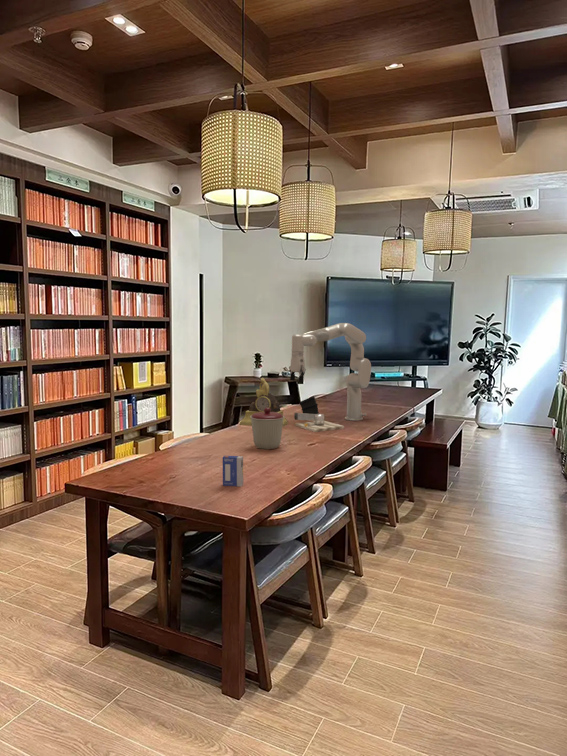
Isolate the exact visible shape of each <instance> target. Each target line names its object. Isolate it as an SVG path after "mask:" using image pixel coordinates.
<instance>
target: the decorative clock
mask: <svg viewBox="0 0 567 756" xmlns="http://www.w3.org/2000/svg"><path fill="white" fill-rule="evenodd" d="M255 392H256V393H255V394H256V397H257V398H256V399H255V401H253V402H251V403H250V405H249V409H248V410H246V411H245V413H244V414H245V415H244V418H243V419H242V420H240V421H239V426H250V427H252V421H251V418H250V416H251V415H253V414H254V413H258V412H264V409H265V408H270V409H271V411H270V412H277V413H280V414H282V415H283V416H285V415H284V410H281V407H280V402H279V401H278V400H277V398H276V397H275V396H274V395H273V393H271V392H270V385H269V383H268V382H267V381H266V379H265V378H264V377H261V378H260V383H259V389H256V390H255ZM288 421H289V420H287V419H286V418H285V417H284V419H283V426H282V428H284V427H285V426H287V425H288V423H289V422H288Z"/></svg>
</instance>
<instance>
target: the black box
mask: <svg viewBox="0 0 567 756" xmlns="http://www.w3.org/2000/svg"><path fill="white" fill-rule="evenodd" d="M299 406H300V407H301V413H307V414H320V412H319V407H318V406H319V404H318V403H317V400H316V396H314V395H312V396H311V397H308V398H305V399H303V400H301V401H299Z"/></svg>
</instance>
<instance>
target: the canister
mask: <svg viewBox="0 0 567 756" xmlns="http://www.w3.org/2000/svg"><path fill="white" fill-rule="evenodd" d="M270 411H271V409H270V408H265V409H264V412H258V413H254V414H253V415H251V416H250V418H251V421H252V426H251V429H252V430H251V431H252V437H253V443H254V446H255V448H257V449H261V450H273V449H277V448H279V447H280V444H281V441H282V433H283V427H282V426H283V419H284V417H285V415H284V414H283V415H284V416H283V415H282V414H280V413H277V412H270Z"/></svg>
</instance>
